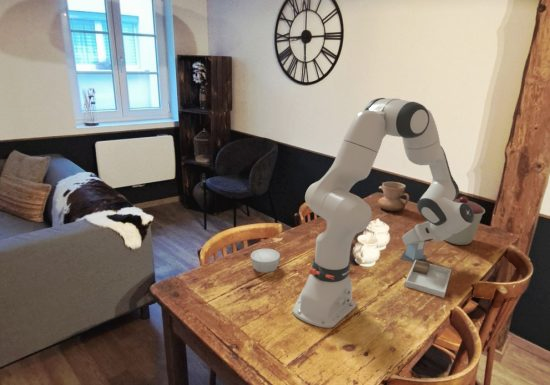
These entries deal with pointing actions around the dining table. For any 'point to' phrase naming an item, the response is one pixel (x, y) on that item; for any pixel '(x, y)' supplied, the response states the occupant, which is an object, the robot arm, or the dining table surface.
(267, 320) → the dining table surface
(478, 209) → the canister
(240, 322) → the dining table surface
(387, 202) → the ceramic jug
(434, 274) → the tray
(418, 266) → the walnut block
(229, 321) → the dining table surface
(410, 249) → the blue box
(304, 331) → the dining table surface
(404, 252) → the mat
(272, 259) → the ramekin
